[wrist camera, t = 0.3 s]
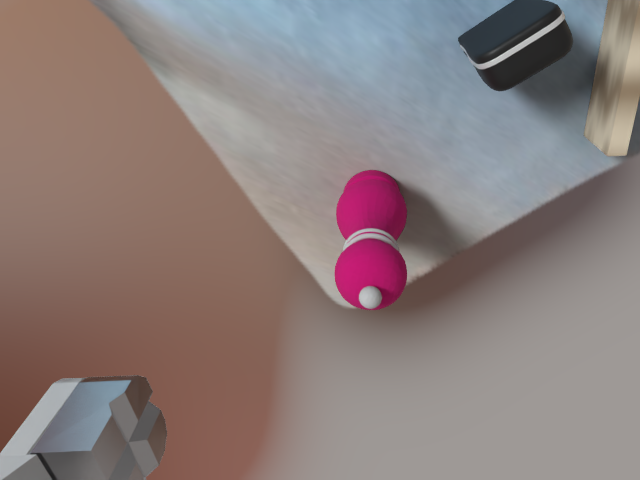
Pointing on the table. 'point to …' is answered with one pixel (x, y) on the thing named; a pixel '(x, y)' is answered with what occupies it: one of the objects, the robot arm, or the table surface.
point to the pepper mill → (371, 241)
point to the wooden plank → (616, 80)
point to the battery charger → (517, 42)
